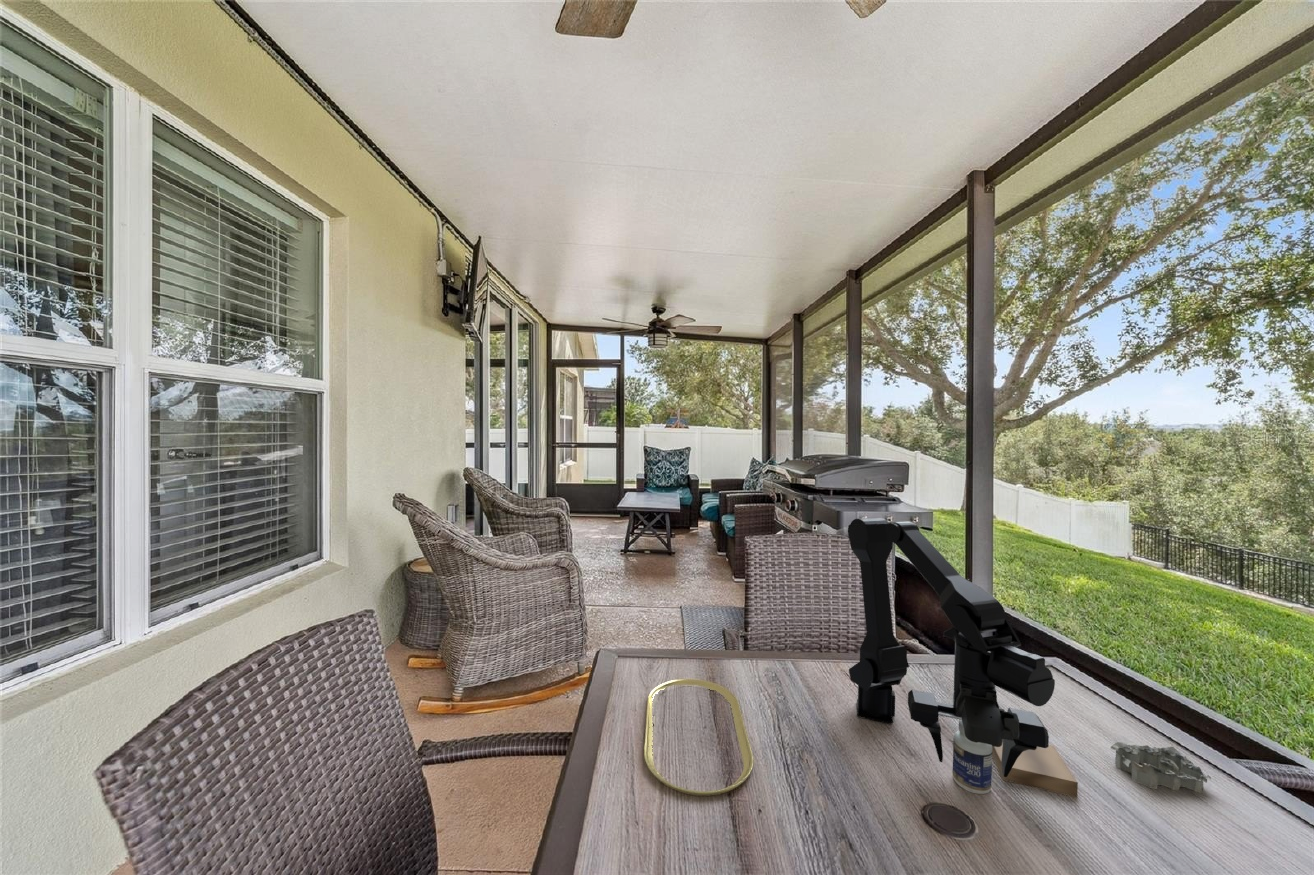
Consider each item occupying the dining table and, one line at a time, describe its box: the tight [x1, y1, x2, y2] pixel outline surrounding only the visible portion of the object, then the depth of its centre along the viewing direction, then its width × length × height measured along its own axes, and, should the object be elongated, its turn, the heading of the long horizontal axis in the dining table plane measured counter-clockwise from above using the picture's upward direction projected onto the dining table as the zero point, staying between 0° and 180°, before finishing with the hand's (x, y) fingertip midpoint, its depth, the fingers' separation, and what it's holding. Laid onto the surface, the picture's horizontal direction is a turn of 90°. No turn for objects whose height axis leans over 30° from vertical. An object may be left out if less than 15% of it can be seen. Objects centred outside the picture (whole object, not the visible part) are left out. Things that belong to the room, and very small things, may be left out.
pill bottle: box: [952, 719, 993, 795], centre depth 81 cm, size 5×5×10 cm
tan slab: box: [992, 743, 1079, 798], centre depth 85 cm, size 10×10×2 cm
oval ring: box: [643, 678, 754, 797], centre depth 94 cm, size 19×35×2 cm, turn 179°
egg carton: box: [1110, 741, 1212, 793], centre depth 84 cm, size 11×8×4 cm
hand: (971, 768), depth 81 cm, fingers open, 9 cm apart
